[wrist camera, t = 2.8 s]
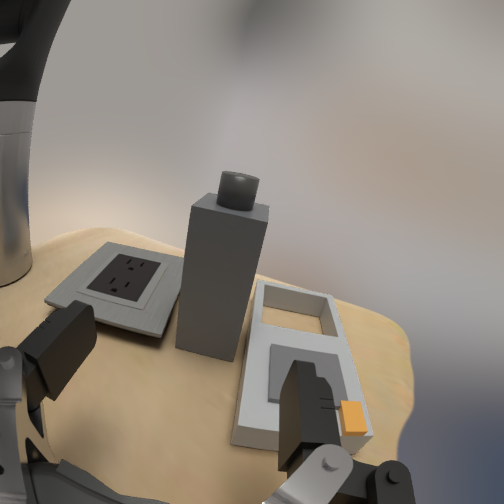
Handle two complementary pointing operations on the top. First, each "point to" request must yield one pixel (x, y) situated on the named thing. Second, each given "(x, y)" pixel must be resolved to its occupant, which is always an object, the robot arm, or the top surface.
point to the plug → (220, 266)
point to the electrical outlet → (125, 288)
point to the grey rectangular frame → (280, 360)
